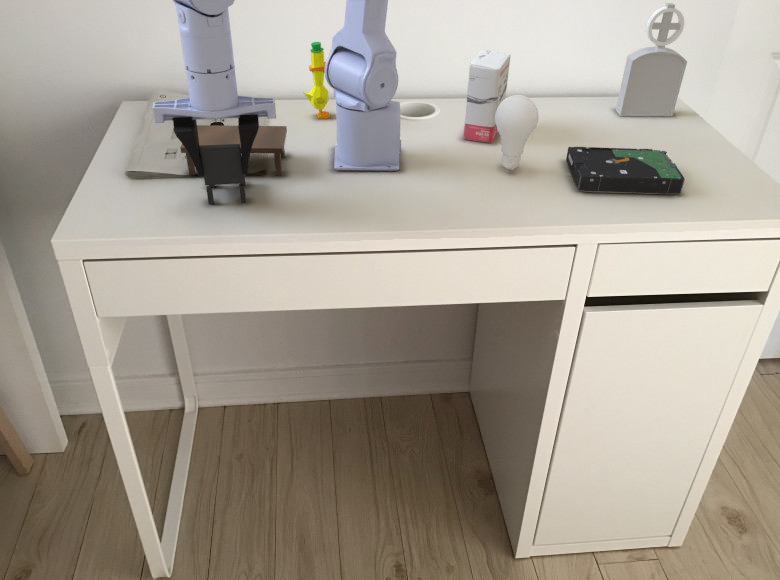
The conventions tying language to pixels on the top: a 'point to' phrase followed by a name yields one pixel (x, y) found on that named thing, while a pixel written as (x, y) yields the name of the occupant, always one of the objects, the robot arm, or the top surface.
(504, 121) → the lightbulb
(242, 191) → the chair
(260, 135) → the brown toy table
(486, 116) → the ink box
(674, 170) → the disk drive
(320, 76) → the toy figure
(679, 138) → the top surface
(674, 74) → the gravestone
